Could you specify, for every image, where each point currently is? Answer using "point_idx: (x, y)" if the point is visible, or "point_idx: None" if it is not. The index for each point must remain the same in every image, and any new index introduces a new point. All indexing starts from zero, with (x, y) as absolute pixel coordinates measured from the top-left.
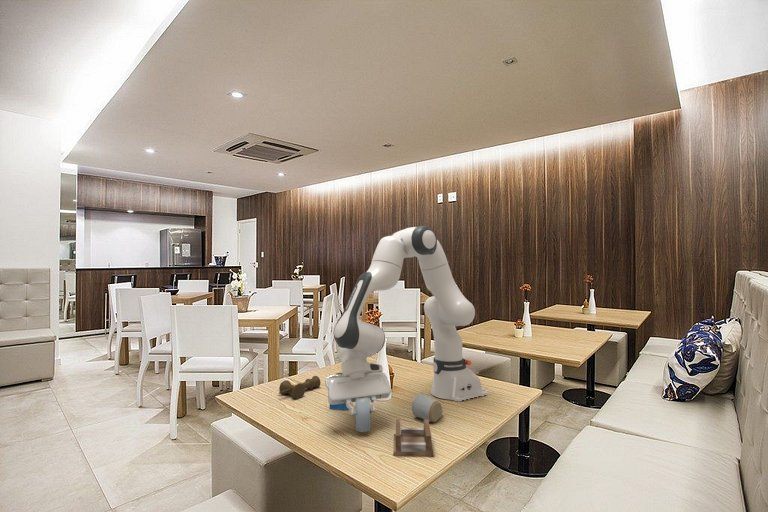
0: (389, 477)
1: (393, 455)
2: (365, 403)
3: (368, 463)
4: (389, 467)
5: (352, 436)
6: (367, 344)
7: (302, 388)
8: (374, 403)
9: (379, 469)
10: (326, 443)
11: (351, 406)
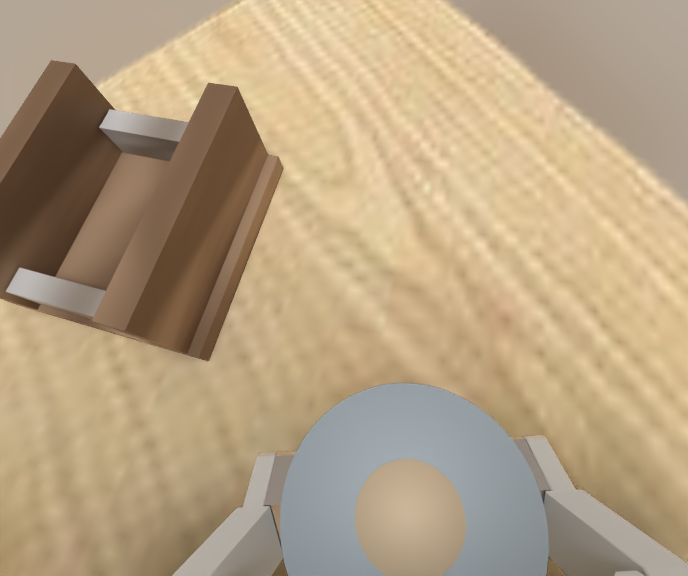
0: (348, 32)
1: (282, 167)
2: (379, 389)
3: (416, 125)
4: (329, 88)
5: None
6: None
7: None
8: (225, 526)
9: (375, 80)
10: (676, 376)
11: (583, 508)
